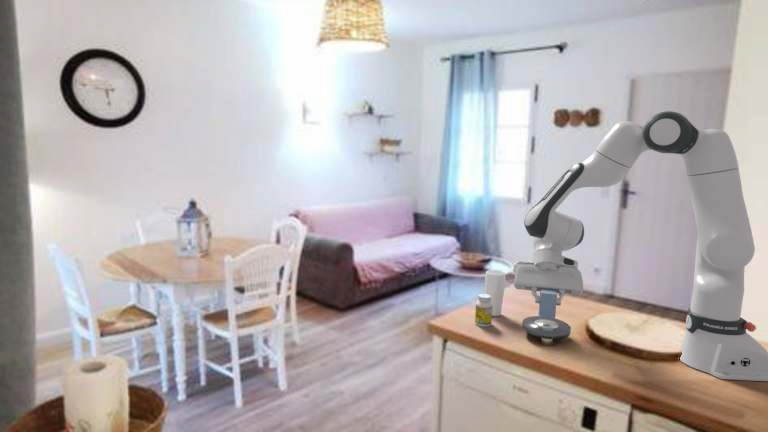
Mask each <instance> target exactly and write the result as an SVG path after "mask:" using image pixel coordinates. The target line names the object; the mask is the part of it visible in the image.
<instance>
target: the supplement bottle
mask: <svg viewBox="0 0 768 432" xmlns="http://www.w3.org/2000/svg"><path fill="white" fill-rule="evenodd" d="M490 300H491V296H490V295H487V294H485V293H480V294H478V295H477V301H476V302H475V312H474V313H475V314H474V315H475V316H474V317H475V318H474V324H475V325H476V326H479V327H490V326H491V325H492V323H493V322H492V321H493V316H492V307H493V305H492V303H491V302H490Z"/></svg>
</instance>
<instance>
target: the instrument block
mask: <svg viewBox="0 0 768 432" xmlns="http://www.w3.org/2000/svg"><path fill="white" fill-rule="evenodd" d="M539 296H541V302H540V303H538V304H539V305H538V316H539V318H540V319H549V320H555V319H556V311H557V305H556V302H557V298H558V293H556V290H549V289H540V291H539Z"/></svg>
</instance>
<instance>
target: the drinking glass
mask: <svg viewBox="0 0 768 432" xmlns="http://www.w3.org/2000/svg"><path fill="white" fill-rule="evenodd" d="M506 275H507V273H506V272H505V271H503V270H498V269H488V270H486V271H485V275H484V276H485V278H484V290H485V291H484V292H485V293H484V294H487V295H490V296H491V300H490V302H491V303H492V305H493V307H492V317H500V316H501V315H502V308H503V301H504V296H505V295H504V294H505V290H506V289H505V288H506V282H507V281H506V279H507V277H506Z"/></svg>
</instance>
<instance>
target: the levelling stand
mask: <svg viewBox="0 0 768 432" xmlns="http://www.w3.org/2000/svg"><path fill="white" fill-rule="evenodd" d="M521 325H522V326H521V327H522V329H523V331H524V332H525V333H526V334H527V335H531V336H534V337H539V338H541V339H540V343H541V344H542V345H543V346H547V347H549V346H553V342H554V341H553V340H557V339H558V340H559V339H566V338H567V337H569V336H570V335H571V329H572V328H571V327H572V326H571V325H569V323H567V322H565V321H563V320H561V319H558V318H555V320H549V319H540V318H539V315H537V316H536V315H535V316H527V317H525V318H523V319H522V323H521Z"/></svg>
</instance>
